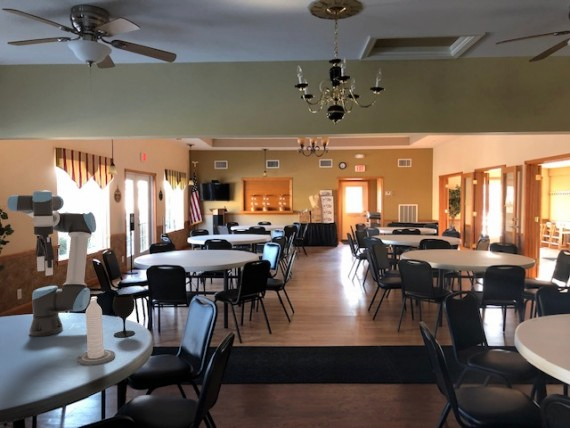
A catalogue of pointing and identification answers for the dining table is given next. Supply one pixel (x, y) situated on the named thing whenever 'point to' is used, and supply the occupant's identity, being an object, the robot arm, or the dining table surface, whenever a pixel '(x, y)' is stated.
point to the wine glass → (123, 312)
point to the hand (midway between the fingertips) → (45, 273)
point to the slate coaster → (87, 361)
